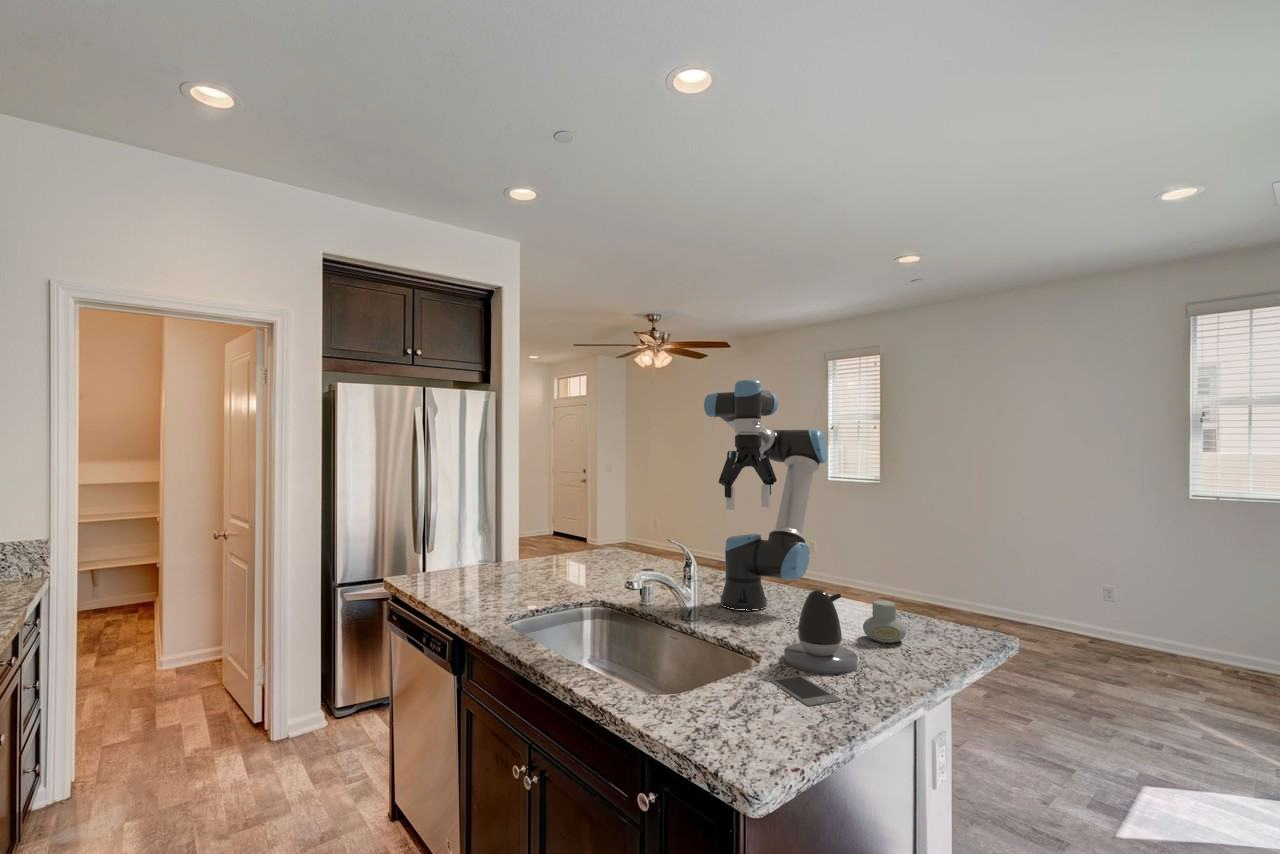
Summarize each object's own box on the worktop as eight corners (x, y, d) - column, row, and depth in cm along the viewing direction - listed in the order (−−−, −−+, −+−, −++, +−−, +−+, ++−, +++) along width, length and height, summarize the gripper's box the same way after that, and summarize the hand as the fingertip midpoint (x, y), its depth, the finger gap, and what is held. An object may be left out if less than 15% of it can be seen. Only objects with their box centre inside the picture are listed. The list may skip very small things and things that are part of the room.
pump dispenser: (848, 660, 143) (847, 595, 144) (803, 660, 143) (803, 594, 144) (835, 646, 153) (834, 585, 154) (794, 646, 154) (793, 585, 154)
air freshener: (863, 642, 163) (863, 605, 163) (862, 634, 171) (861, 597, 171) (908, 646, 160) (907, 608, 160) (904, 637, 167) (904, 600, 168)
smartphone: (767, 682, 136) (767, 678, 136) (799, 677, 139) (799, 674, 139) (807, 709, 122) (807, 705, 122) (842, 703, 125) (842, 699, 125)
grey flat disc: (816, 646, 160) (816, 638, 160) (872, 665, 146) (872, 656, 146) (769, 658, 151) (769, 649, 151) (824, 679, 136) (824, 670, 136)
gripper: (723, 433, 165) (723, 511, 165) (788, 434, 179) (789, 507, 178) (705, 433, 172) (706, 509, 171) (769, 435, 185) (770, 505, 185)
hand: (748, 508), depth 175 cm, fingers open, 13 cm apart
